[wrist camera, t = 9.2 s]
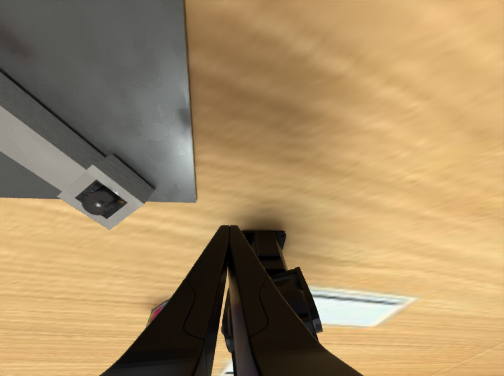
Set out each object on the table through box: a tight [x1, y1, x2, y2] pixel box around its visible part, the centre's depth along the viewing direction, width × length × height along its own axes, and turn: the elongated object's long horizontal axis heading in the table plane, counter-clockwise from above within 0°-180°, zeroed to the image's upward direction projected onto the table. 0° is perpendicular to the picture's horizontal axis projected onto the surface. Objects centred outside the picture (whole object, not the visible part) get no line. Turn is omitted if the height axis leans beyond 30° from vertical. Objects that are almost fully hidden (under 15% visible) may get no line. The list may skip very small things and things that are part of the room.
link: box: [0, 72, 155, 230], centre depth 15 cm, size 18×5×3 cm, turn 34°
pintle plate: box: [0, 0, 197, 216], centre depth 14 cm, size 19×22×5 cm
